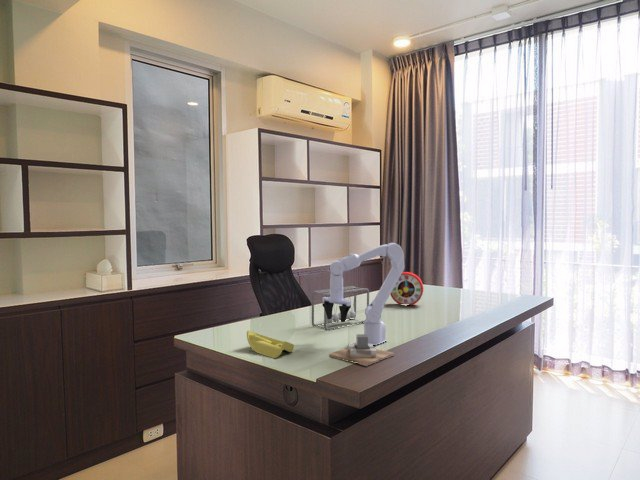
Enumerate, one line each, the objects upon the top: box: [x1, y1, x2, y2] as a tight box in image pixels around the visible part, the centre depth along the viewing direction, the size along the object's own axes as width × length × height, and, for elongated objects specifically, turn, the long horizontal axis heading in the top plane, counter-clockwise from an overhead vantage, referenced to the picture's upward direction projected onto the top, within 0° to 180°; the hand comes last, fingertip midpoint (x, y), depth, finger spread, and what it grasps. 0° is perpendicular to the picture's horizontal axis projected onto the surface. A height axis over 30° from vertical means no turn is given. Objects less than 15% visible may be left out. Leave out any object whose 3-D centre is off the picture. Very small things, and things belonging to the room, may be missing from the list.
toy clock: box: [390, 271, 424, 306], centre depth 278 cm, size 20×6×20 cm, turn 73°
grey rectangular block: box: [355, 333, 368, 349], centre depth 177 cm, size 4×4×7 cm
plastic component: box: [246, 330, 295, 359], centre depth 183 cm, size 20×7×10 cm
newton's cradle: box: [311, 285, 370, 331], centre depth 228 cm, size 30×10×18 cm, turn 130°
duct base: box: [328, 343, 395, 364], centre depth 177 cm, size 18×18×4 cm
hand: (336, 320), depth 196 cm, fingers open, 7 cm apart
